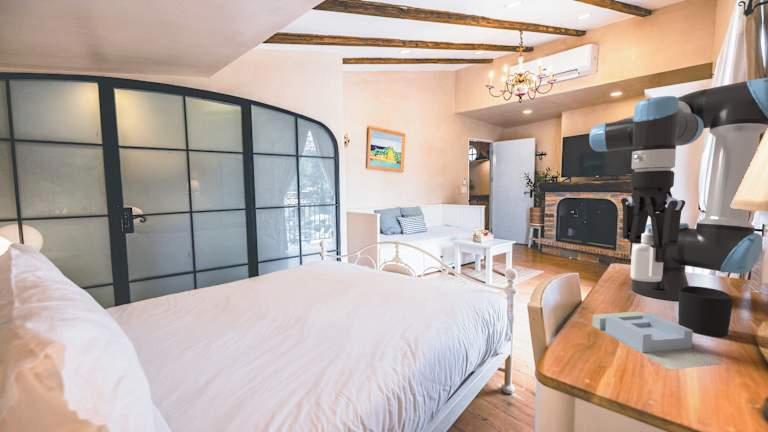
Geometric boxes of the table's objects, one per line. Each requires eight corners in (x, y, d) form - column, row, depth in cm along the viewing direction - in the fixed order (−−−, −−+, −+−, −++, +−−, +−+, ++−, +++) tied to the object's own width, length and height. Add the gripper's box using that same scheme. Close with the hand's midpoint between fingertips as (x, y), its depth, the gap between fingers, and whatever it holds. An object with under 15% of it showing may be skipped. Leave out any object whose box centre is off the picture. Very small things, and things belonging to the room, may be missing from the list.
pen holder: (741, 338, 77) (744, 297, 76) (708, 342, 75) (711, 300, 74) (696, 322, 86) (699, 284, 85) (666, 325, 84) (668, 287, 83)
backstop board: (638, 324, 85) (638, 311, 85) (727, 366, 65) (728, 350, 65) (592, 328, 83) (592, 314, 83) (669, 372, 64) (670, 355, 63)
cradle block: (649, 328, 81) (650, 312, 81) (691, 348, 71) (692, 330, 71) (605, 331, 80) (606, 315, 79) (642, 352, 70) (643, 334, 70)
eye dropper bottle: (661, 284, 72) (664, 230, 71) (629, 279, 75) (632, 228, 74) (661, 279, 75) (665, 227, 74) (631, 275, 79) (634, 226, 77)
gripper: (606, 172, 81) (602, 265, 83) (674, 168, 64) (667, 285, 66) (634, 171, 81) (629, 263, 84) (708, 168, 65) (700, 283, 67)
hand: (646, 272), depth 75 cm, fingers closed on eye dropper bottle, 4 cm apart
